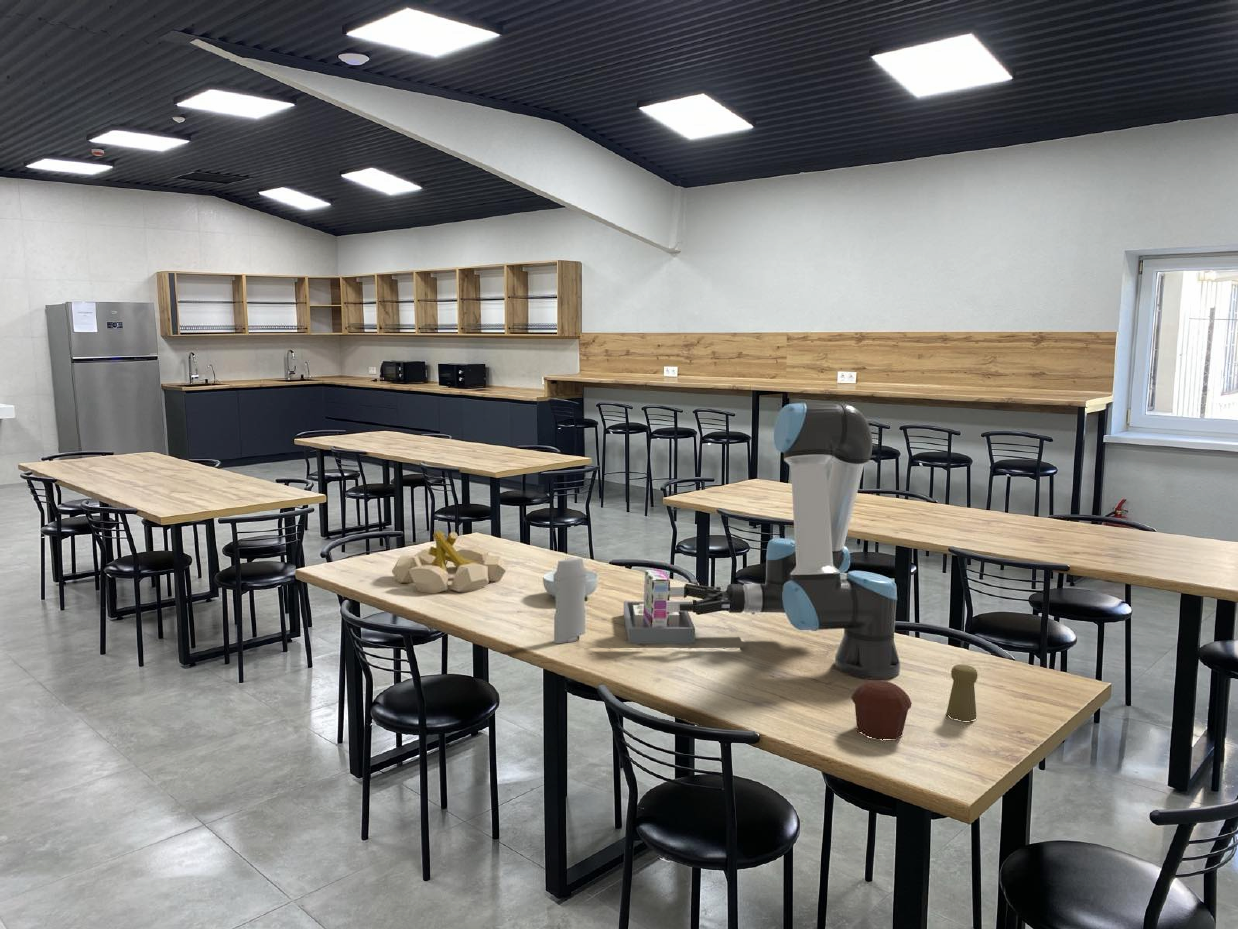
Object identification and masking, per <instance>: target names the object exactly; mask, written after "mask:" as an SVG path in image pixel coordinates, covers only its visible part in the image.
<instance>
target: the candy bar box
mask: <svg viewBox="0 0 1238 929" xmlns="http://www.w3.org/2000/svg"><path fill="white" fill-rule="evenodd" d="M670 586H671V579H670V578H669V577H668V575H667V574H666V573H665V572H664V571H663V570H662V569H644V585H643V592H644V593H643V601H644V614H643V627H668V625H669V612H666V601H670V598H671V597H670Z"/></svg>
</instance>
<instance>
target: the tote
mask: <svg viewBox="0 0 1238 929" xmlns="http://www.w3.org/2000/svg"><path fill="white" fill-rule="evenodd" d="M639 604H644V600H642V601H636V600H634V601H630V600H629V601H628V600H627V601H626V600H625V601H623V615H622V616H623V620H624V626H625V632H626V638H627V642H628V643H627V644H628V645H641V644H642V645H645V644H646V645H657V644H658V645H661V644H662V645H667V644H668V645H693V644H696V642H695V641H696V640H695V638H696V636H695V635H696V627H695V626H694V623H693V620H692V618H691V616H690V612H678V613H679V627H635V626H634V621H633V605H639Z"/></svg>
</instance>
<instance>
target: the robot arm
mask: <svg viewBox="0 0 1238 929" xmlns="http://www.w3.org/2000/svg"><path fill="white" fill-rule="evenodd" d="M773 443H774V448H775V449H776V451H778V452H780V453H783V461H784V462H785V463H786V464H788V465H789V467H790V472H791V473H790V474H791V476H790V477H791V479H790V480H791V492H792V493H791V495H792V513H793V532H794V533H793V534H794V540H793V539H790V538H783V537H780V538H779V537H776V538H772V539H770V540H769V541H768V543H767V547H766V554H765V560H766V562H765V583H744V584H743V585H742V584H741V583H730V584H728V585H727V587H726V590H725V591H724V590H722V587H720V586H709V585H708V586H707V585H699V584H693V583H685V584H684V585H683V586H682V585H678V586H676V585H675V586H674V585H670V598H675V597H676V598H680V597H681V598H684V599H686V598H687V597H691V598H696V599H692V600H669V601H666V612H688V613H691V612H692V613H695V615H698V616H699V615H706V614H712V613H716V612H717V613H718V612H728V613H730V614H734V613H735V614H737V613H738V614H741V613H743V612H744V613H745V614H746V613H747V614H748V613H749V614H750V613H751V615H755V614H756V613H757V614H758V613H769V614H770V613H772V614H773V613H777V614H779V613H780V614H781V613H782V614H785V615H786V617H787V619H788V621H789V623H790V624H791V626H792V627H793V628H795V629H797V630H799V631H811V632H816V631H822V630H824V631H825V630H843V636H842V638H841V641H840V644H839V646H838V648H837V651H836V652H835V653H836V654H835V658H834V659H835V660H834V666H835V668H836V669H837V670H838V671H840V672H842V673H843V674H846V675H848V674H849V676H852V677H856V678H860V679H866V678H868V679H867V680H887V679H892V678H895V677H896V676H898V675H899V674H900V673H901V672H900V671H901V660H900V658H899V654H898V650H897V646H896V644H895V629H896V627H895V626H896V612H897V611H896V610H897V601H898V595H897V594H898V593H897V591H898V590H897V584H896V583H895V581H894V580H893V579H892V578H889V577H887V576H884V575H882V574H878V573H874V572H869V571H863V570H851V571H848V569H849V568H850V566H851V555H850V550H849V549H848V547H847V546H846V545H845V544H846V543H845V542H846V539H847V535H848V531H849V527H850V522H851V519H852V516H853V511H854V507H855V503H856V500H857V495H858V490H859V488H860V484H861V479H862V475H863V472H864V467H865V465H866V464H868V463H869V462H870V460H871V457H872V452H873V435H872V430H871V428H870V425H869V422H868V420H867V419H866V417H865V416H864V414H863V413H862V412H861V411H860V410H859V409H857V408H856V407H854V406H852V405H850V404H846V403H841V402H839V403H837V402H836V403H830V402H829V403H825V402H824V403H823V402H822V403H821V402H820V403H819V402H800V403H799V402H798V403H797V402H796V403H789V404H786V405H784V407H782V408H781V409H780V411H779V412H778V414H777V418H776V419H775V424H774V428H773ZM831 461H832V464H831V465H832V466H831V469H830V473H829V477H828V472H829V471H828V465H829V463H830V462H831ZM846 572H847V574H846V575H845V577H846V578H845V579H843V578H841V574H843V573H846ZM697 599H699V600H697Z"/></svg>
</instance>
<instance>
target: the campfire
mask: <svg viewBox="0 0 1238 929" xmlns="http://www.w3.org/2000/svg"><path fill="white" fill-rule="evenodd" d="M432 537H433V538H434V539H435V546H436V547H434V546H430V548H424V549H422V550H421V551H419V552H418V553H416V554H414V555H402V556H400V557H399V558H398V559H397V561H396V563H395V565H394V566H393V568H392V570H391V572H392V575H393V577H394V578H395V579H396V581H397V583H399V584H400V583H401V584H402V583H404V584H405V583H406V584H408V583H409V584H410V583H413V584H414V586H415V588H416V590H417V592H421V593H428V594H437V593H438V594H439V593H440V592H445V591H448V589H450V590H453V591H454V592H459V593H460V592H461V593H463V592H464V593H465V592H466V593H467V592H472V591H477V590H481V589H482V588H484V587H486V586H487V585H488V584H489V582H491V583H493V582H495V583H498V582H500V581H501V580H502V578H503V577H504V574H505V573H506V571H507V570H508V565H507V563H506V562H505V561H504V559H503V557H502V556H501V555H489V554H490V551H488V550H486V549H482V548H480V547H475V546H466V547H464V548H461V549H459V550H456V549H455V548H454V545H455V543H456V540H458V537H459V536H458V534H457V532H455V531H451V532H450V533H449V534H448V536H447V537H445V533H444V532H442V531H441V530H437V531H436V532H434V533H433V535H432ZM449 562H450V563H453V565H454V567H456V572H455V574H454V577H453V580H452V582H451V585H450V587H449V588H448V586H449V585H448V583H449V578H448V576H449V571H447V565H448V563H449Z"/></svg>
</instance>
